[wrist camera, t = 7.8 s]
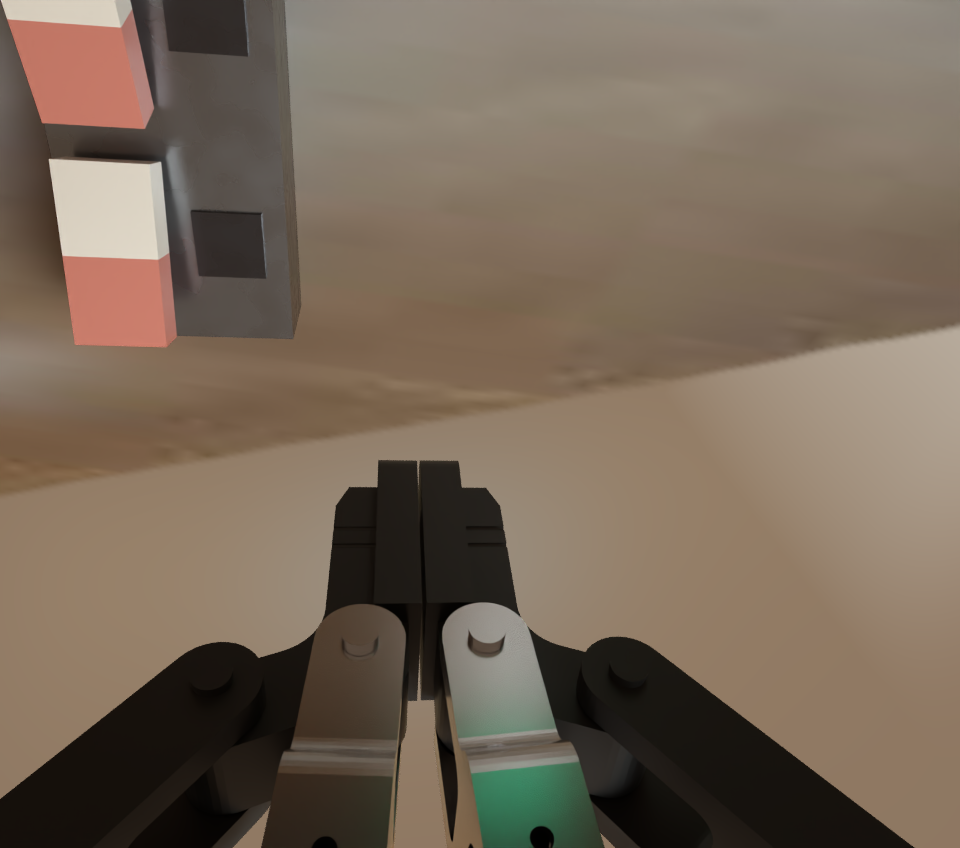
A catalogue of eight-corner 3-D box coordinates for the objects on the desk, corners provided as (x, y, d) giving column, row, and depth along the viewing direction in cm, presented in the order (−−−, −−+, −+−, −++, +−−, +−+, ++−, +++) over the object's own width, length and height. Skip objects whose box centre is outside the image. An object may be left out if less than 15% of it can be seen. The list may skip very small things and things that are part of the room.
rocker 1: (105, -113, 27) (91, -97, 26) (154, 108, 33) (145, 128, 32) (-17, -124, 27) (-36, -109, 25) (55, 102, 32) (42, 122, 31)
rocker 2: (161, 161, 34) (149, 164, 32) (176, 336, 37) (166, 347, 35) (65, 156, 34) (48, 159, 32) (89, 334, 37) (75, 344, 35)
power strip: (258, -485, 27) (237, -542, 23) (301, 305, 43) (292, 340, 40) (-52, -532, 25) (-123, -600, 22) (115, 299, 42) (89, 334, 39)
